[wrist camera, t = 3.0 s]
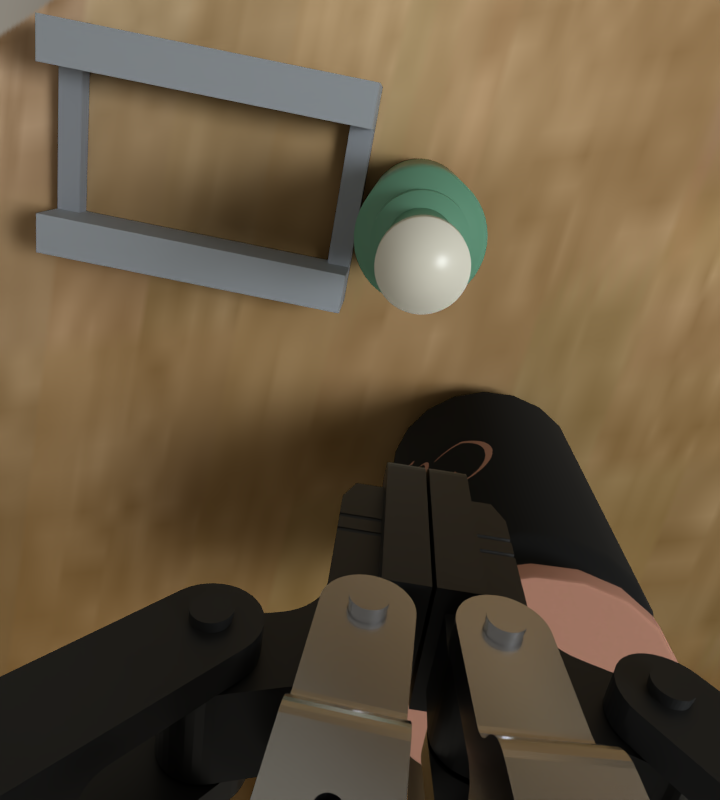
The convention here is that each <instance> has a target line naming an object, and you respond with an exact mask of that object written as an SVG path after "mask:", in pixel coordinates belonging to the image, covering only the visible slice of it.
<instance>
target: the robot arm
mask: <svg viewBox="0 0 720 800" xmlns="http://www.w3.org/2000/svg"><path fill="white" fill-rule="evenodd" d="M408 705H409V709H412V710H418V711H424V712H427V731H426V735H425V739H424V743H423V747H422V751H421V764H419V763H418V762H417V761H415V760H414V759H413V758H411V757H410V750H411V737H412V722H411V721H409V720H407V717H408ZM253 777H257V780H256V783H255V786H254V789H253V792H252V795H251V799H250V800H407V788H408V800H720V691H718V690H717V689H716V688H714V687H713V686H712V685H710V684H709V683H708V682H706V681H705V680H704V679H702V678H701V677H700V676H698V675H697V674H696V673H694V672H693V671H691V670H690V669H688V668H686V667H685V666H683V665H681V664H679V663H677V662H675V661H673V660H670V659H667V658H665V657H662V656H658V655H654V654H646V653H636V654H630V655H627V656H625V657H623V658H622V659H620V660H619V662H618V663H617V664H616V667H615V669H614V672H613V673H612V672H610V671H607V670H605V669H602V668H600V667H597V666H595V665H592V664H590V663H587V662H585V661H582V660H580V659H578V658H575V657H573V656H571V655H569V654H567V653H565V652H564V651H562V650H560V649H559V648H558V647H557V644H556V642H555V639H554V637H553V634H552V632H551V630H550V628H549V626H548V625H547V623H546V622H545V621H544V620H543V619H542V618H541V617H540V615H538V614H537V613H536V612H535V611H533V610H532V609H530V608H529V607H527V603H526V599H525V595H524V591H523V587H522V583H521V579H520V575H519V571H518V567H517V563H516V559H515V558H514V551H513V547H512V544H511V543H510V536H509V532H508V528H507V524H506V521H505V520H504V519H503V518H502V516H501V515H500V514H499V513H498V512H497V511H496V510H495V508H494V507H493V506H492V505H491V504H486V503H479V502H473V501H471V496H470V490H469V485H468V479H467V475H466V474H461V473H455V472H448V471H442V470H436V469H429V468H428V469H427V471H426V469H425V468H422V467H416V466H410V465H403V464H397V463H391V462H387V466H386V470H385V475H384V481H383V486H382V487H378V486H371V485H365V484H359V483H356V484H355V485H354V486H353V487H352V488H351V489H350V490H349V491H347V492H346V493H345V494H344V495H343V498H342V504H341V510H340V516H339V521H338V527H337V533H336V539H335V544H334V550H333V556H332V562H331V568H330V573H329V579H328V583H327V586H326V587H325V588H324V589H323V591H322V593H321V595H320V597H319V598H317V599H316V600H315V601H314V602H312V603H310V604H308V605H307V606H304V607H302V608H299V609H295V610H291V611H285V612H275V613H264V612H263V610H262V607H261V605H260V604H259V603H258V601H257V600H256V599H255V598H254V597H253V596H252V595H250V594H249V593H247V592H246V591H244V590H242V589H240V588H237V587H234V586H230V585H225V584H215V583H212V584H200V585H195V586H191V587H188V588H185V589H183V590H180V591H178V592H176V593H174V594H172V595H170V596H168V597H166V598H164V599H162V600H159V601H157V602H155V603H153V604H151V605H149V606H147V607H145V608H143V609H141V610H139V611H137V612H134V613H132V614H130V615H128V616H126V617H124V618H122V619H120V620H118V621H116V622H114V623H112V624H109V625H107V626H105V627H103V628H101V629H99V630H97V631H95V632H93V633H91V634H89V635H86V636H84V637H82V638H80V639H78V640H76V641H74V642H72V643H70V644H68V645H66V646H64V647H61V648H59V649H57V650H55V651H53V652H51V653H49V654H47V655H45V656H43V657H41V658H39V659H36V660H34V661H32V662H30V663H28V664H26V665H24V666H22V667H20V668H18V669H16V670H13V671H11V672H9V673H7V674H5V675H3V676H1V677H0V800H229V799H230V798H232V797H233V796H234V795H235V794H236V793H237V792H238V790H239V789H240V788H241V786H242V784H243V782H244V781H245V779H247V778H253Z"/></svg>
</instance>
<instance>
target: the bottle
mask: <svg viewBox="0 0 720 800" xmlns="http://www.w3.org/2000/svg"><path fill="white" fill-rule="evenodd" d="M486 246H487V224H486V219H485V216H484V213H483V210H482V208H481V206H480V204H479V202H478V200H477V199H476V197H475V196H474V194H473V193H472V192H471V191H470V190H469V189H468V188H467V186H466V185H465V184H464V183H463V182H462V181H461V180H460V179H459V178H458V177H457V176H456V175H455V174H453V173H452V172H451V171H450V170H449V169H448V168H447V167H445V166H443V165H442V164H440V163H437V162H435V161H431V160H427V159H411V160H407V161H403V162H401V163H399V164H396V165H395V166H393V167H391V168H390V169H389V170H388V171H386V172H385V173H384V174H383V175H382V176H381V178H380V179H379V180H378V182H377V183H376V185H375V186H374V188H373V189H372V191H371V192H370V194H369V195H368V197H367V198H366V200H365V201H364V203H363V205H362V207H361V209H360V211H359V214H358V216H357V219H356V223H355V229H354V248H355V254H356V257H357V261H358V263H359V266H360V268H361V270H362V272H363V273H364V275H365V277H366V278H367V279H368V281H369V282H370V283H371V284H372V285H373V286H374V287H375V288H376V289H377V290H378V291H380V292H381V293H382V294H383V295H384V297H385V298H386V299H387V300H388V301H389V302H390V303H391V304H393V305H394V306H395V307H397V308H399V309H400V310H403V311H405V312H408V313H412V314H431V313H435V312H438V311H441V310H443V309H445V308H447V307H448V306H450V305H451V304H452V303H454V302H455V301H456V300H457V299H458V298H459V297H460V295H461V294H462V293H463V291H464V289H465V288H466V286H467V284H468V283H469V282H470V281H471V280H472V278H473V277H474V276H475V274H476V273H477V271H478V269H479V267H480V265H481V263H482V261H483V258H484V255H485V251H486Z"/></svg>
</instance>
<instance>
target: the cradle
mask: <svg viewBox="0 0 720 800" xmlns="http://www.w3.org/2000/svg"><path fill="white" fill-rule="evenodd" d="M35 61H38V62H43V63H48V64H53V65H58V66H59V89H58V206H57V209H52V210H48V211H43V212H39V213H36V252H38V253H43V254H48V255H53V256H58V257H63V258H67V259H72V260H77V261H82V262H87V263H92V264H97V265H102V266H107V267H112V268H117V269H122V270H127V271H132V272H137V273H142V274H147V275H152V276H157V277H162V278H166V279H171V280H176V281H181V282H186V283H191V284H196V285H201V286H206V287H211V288H216V289H221V290H226V291H231V292H236V293H241V294H246V295H251V296H256V297H260V298H265V299H270V300H275V301H280V302H285V303H290V304H295V305H300V306H305V307H310V308H315V309H320V310H325V311H330V312H335V313H339V311H340V309H341V306H342V304H343V301H344V297H345V292H346V286H347V281H348V275H349V270H350V264H351V259H352V253H353V248H354V229H355V223H356V219H357V216H358V214H359V211H360V209H361V204H362V198H363V193H364V187H365V182H366V176H367V171H368V165H369V159H370V154H371V148H372V143H373V137H374V132H375V126H376V121H377V115H378V110H379V104H380V99H381V93H382V88H383V87H382V85H381V83H378V82H374V81H369V80H364V79H359V78H354V77H349V76H344V75H339V74H334V73H329V72H324V71H320V70H315V69H310V68H305V67H300V66H295V65H290V64H285V63H280V62H275V61H271V60H266V59H261V58H256V57H251V56H246V55H241V54H236V53H231V52H226V51H222V50H217V49H212V48H207V47H202V46H197V45H192V44H187V43H182V42H177V41H173V40H168V39H163V38H158V37H153V36H148V35H143V34H138V33H133V32H128V31H124V30H119V29H114V28H109V27H104V26H99V25H94V24H89V23H84V22H79V21H75V20H70V19H65V18H60V17H55V16H50V15H45V14H40V13H35ZM90 72H92V73H97V74H102V75H107V76H112V77H117V78H122V79H127V80H131V81H136V82H141V83H146V84H151V85H156V86H161V87H166V88H171V89H176V90H181V91H185V92H190V93H195V94H200V95H205V96H210V97H215V98H220V99H225V100H230V101H235V102H239V103H244V104H249V105H254V106H259V107H264V108H269V109H274V110H279V111H284V112H289V113H293V114H298V115H303V116H308V117H313V118H318V119H323V120H328V121H333V122H338V123H343V124H348V125H350V131H349V137H348V143H347V149H346V155H345V161H344V167H343V173H342V179H341V184H340V190H339V196H338V202H337V208H336V214H335V220H334V226H333V232H332V238H331V244H330V250H329V256H328V260H325V259H320V258H315V257H310V256H305V255H300V254H295V253H290V252H285V251H280V250H276V249H271V248H266V247H261V246H256V245H251V244H246V243H241V242H236V241H231V240H226V239H221V238H216V237H211V236H206V235H201V234H197V233H192V232H187V231H182V230H177V229H172V228H167V227H162V226H157V225H152V224H147V223H142V222H137V221H132V220H127V219H122V218H118V217H113V216H108V215H103V214H98V213H93V212H88V211H86V197H87V157H88V117H89V77H90Z"/></svg>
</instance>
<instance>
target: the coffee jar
mask: <svg viewBox="0 0 720 800" xmlns="http://www.w3.org/2000/svg"><path fill="white" fill-rule="evenodd" d="M394 463H397V464H403V465H410V466H416V467H422V468H425V469H426V471H427V469H428V468H429V469H436V470H442V471H448V472H455V473H461V474H466V475H467V479H468V485H469V490H470V496H471V501H473V502H479V503H486V504H491V505H492V506H493V507H494V508H495V510H496V511H497V512H498V513H499V514H500V515H501V516H502V518H503V519H504V520H505V521H506V524H507V528H508V532H509V536H510V543H511V544H512V547H513V551H514V558H515V559H516V563H517V567H518V571H519V575H520V579H521V583H522V587H523V591H524V595H525V599H526V603H527V607H529V608H530V609H532V610H533V611H535V612H536V613H537V614H538V615H540V617H541V618H542V619H543V620H544V621H545V622H546V623H547V625H548V626H549V628H550V630H551V632H552V634H553V637H554V639H555V642H556V644H557V647H558V648H559V649H560V650H562V651H564V652H565V653H567V654H569V655H571V656H573V657H575V658H578V659H580V660H582V661H585V662H587V663H590V664H592V665H595V666H597V667H600V668H602V669H605V670H607V671H610V672H612V673H613V672H614V669H615V667H616V664H617V663H618V662H619V660H620V659H622V658H623V657H625V656H627V655H630V654H636V653H646V654H654V655H658V656H662V657H665V658H667V659H670V660H673V661H675V662H677V660H676V658H675V656H674V654H673V652H672V650H671V648H670V646H669V644H668V642H667V640H666V638H665V636H664V634H663V632H662V630H661V628H660V627H659V625H658V624H657V622H656V621H655V619H654V617H653V611H652V609H651V607H650V605H649V603H648V601H647V599H646V597H645V595H644V593H643V591H642V589H641V587H640V585H639V583H638V581H637V579H636V577H635V575H634V573H633V571H632V569H631V567H630V565H629V563H628V561H627V559H626V557H625V555H624V553H623V551H622V549H621V547H620V546H619V544H618V542H617V540H616V538H615V536H614V534H613V532H612V530H611V528H610V526H609V524H608V522H607V520H606V518H605V516H604V514H603V512H602V510H601V508H600V506H599V504H598V502H597V500H596V498H595V496H594V494H593V492H592V490H591V488H590V486H589V484H588V482H587V480H586V478H585V476H584V474H583V472H582V470H581V468H580V466H579V464H578V462H577V460H576V458H575V456H574V454H573V452H572V450H571V448H570V446H569V444H568V442H567V440H566V438H565V436H564V434H563V432H562V430H561V428H560V427H559V426H558V425H557V424H556V423H555V422H554V421H553V420H552V419H551V418H550V417H549V416H548V415H547V414H546V413H545V412H543V411H542V410H541V409H540V408H539V407H537V406H535V405H532V404H530V403H528V402H526V401H524V400H521V399H519V398H517V397H515V396H511V395H503V394H495V393H487V392H481V393H475V394H469V395H463V396H457V397H453V398H451V399H449V400H447V401H445V402H443V403H441V404H439V405H437V406H435V407H433V408H431V409H429V410H427V411H426V412H425V413H424V414H423V415H422V416H421V417H420V418H419V419H418V420H417V421H416V422H415V423H414V424H412V425H411V426H410V427H409V428H408V430H407V432H406V433H405V435H404V437H403V439H402V441H401V443H400V445H399V447H398V448H397V450H396V453H395V460H394ZM677 663H678V662H677ZM407 720H409V721H411V722H412V737H411V750H410V757H411V758H413V759H414V760H415V761H417V762H418V763H419V764H421V751H422V747H423V743H424V739H425V735H426V731H427V712H424V711H418V710H412V709H409V705H408V717H407Z"/></svg>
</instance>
